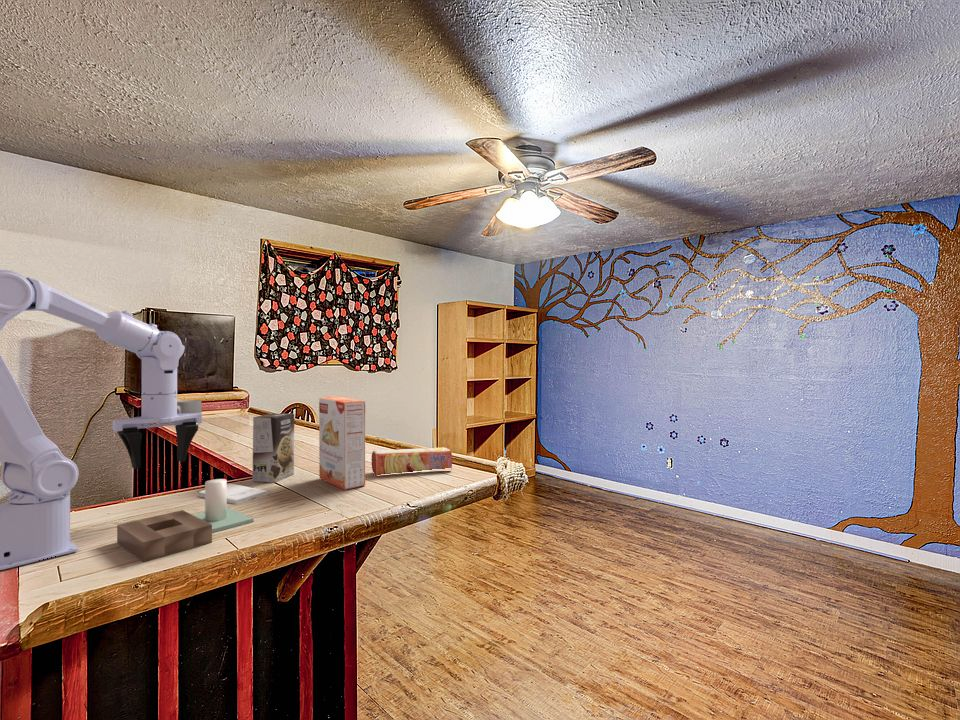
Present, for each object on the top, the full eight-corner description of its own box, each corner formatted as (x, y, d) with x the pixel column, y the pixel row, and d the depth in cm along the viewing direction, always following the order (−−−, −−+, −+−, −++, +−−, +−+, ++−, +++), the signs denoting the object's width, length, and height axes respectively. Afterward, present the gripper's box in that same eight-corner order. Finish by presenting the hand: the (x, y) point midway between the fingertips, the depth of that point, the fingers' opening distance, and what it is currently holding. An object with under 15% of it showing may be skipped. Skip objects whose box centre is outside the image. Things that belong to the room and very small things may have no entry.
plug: (210, 522, 90) (210, 484, 90) (201, 518, 92) (201, 481, 92) (230, 517, 93) (230, 481, 93) (221, 514, 95) (221, 478, 95)
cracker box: (317, 479, 124) (318, 396, 124) (339, 475, 128) (340, 395, 128) (342, 491, 114) (343, 401, 113) (366, 486, 118) (366, 399, 117)
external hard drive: (231, 489, 116) (268, 496, 111) (198, 498, 109) (236, 507, 103) (231, 482, 116) (268, 489, 111) (198, 491, 109) (236, 499, 103)
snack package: (446, 467, 139) (446, 443, 139) (453, 473, 133) (453, 448, 133) (370, 473, 132) (370, 448, 132) (374, 479, 126) (374, 452, 126)
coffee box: (275, 483, 120) (275, 417, 120) (251, 481, 121) (251, 416, 121) (295, 474, 129) (295, 413, 129) (272, 472, 130) (272, 412, 130)
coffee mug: (193, 421, 222) (193, 399, 222) (206, 423, 217) (206, 400, 217) (162, 424, 211) (162, 401, 211) (174, 427, 206) (174, 403, 205)
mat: (203, 535, 86) (203, 531, 86) (177, 521, 92) (177, 518, 92) (253, 521, 93) (253, 518, 93) (226, 509, 100) (226, 506, 100)
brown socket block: (143, 561, 75) (143, 542, 75) (117, 542, 82) (117, 524, 82) (211, 542, 83) (212, 524, 82) (182, 526, 90) (182, 510, 90)
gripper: (121, 397, 86) (121, 474, 86) (208, 392, 97) (208, 460, 97) (108, 394, 90) (108, 468, 90) (193, 390, 101) (193, 456, 101)
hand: (159, 464), depth 94 cm, fingers open, 7 cm apart
